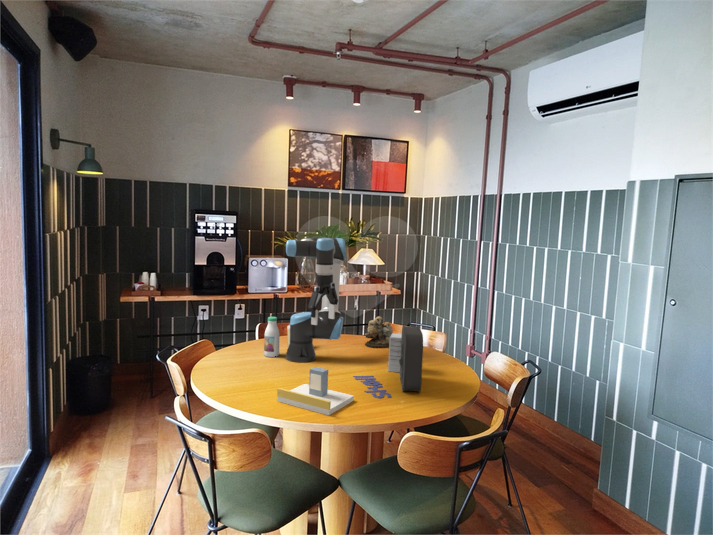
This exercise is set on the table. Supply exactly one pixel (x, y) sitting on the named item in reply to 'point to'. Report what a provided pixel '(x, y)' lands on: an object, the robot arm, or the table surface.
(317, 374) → the carton
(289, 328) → the coffee cup
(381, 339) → the owl figurine
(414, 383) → the speaker
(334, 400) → the display plank
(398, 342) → the supplement box
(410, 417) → the table surface
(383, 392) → the signage
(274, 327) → the milk bottle
